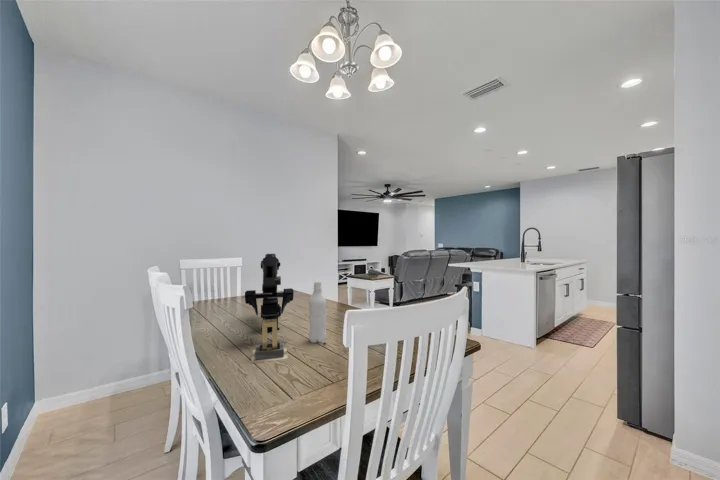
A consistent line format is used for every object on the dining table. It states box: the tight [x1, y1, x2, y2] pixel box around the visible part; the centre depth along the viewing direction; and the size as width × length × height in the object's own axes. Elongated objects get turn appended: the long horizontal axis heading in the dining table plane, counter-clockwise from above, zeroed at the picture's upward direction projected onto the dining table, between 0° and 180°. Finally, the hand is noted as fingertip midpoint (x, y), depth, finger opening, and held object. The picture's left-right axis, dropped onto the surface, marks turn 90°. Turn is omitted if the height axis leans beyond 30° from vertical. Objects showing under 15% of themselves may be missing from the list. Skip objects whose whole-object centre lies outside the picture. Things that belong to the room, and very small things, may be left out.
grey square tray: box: [250, 341, 289, 364], centre depth 103 cm, size 12×12×4 cm
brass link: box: [261, 319, 278, 351], centre depth 103 cm, size 4×5×12 cm
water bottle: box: [308, 281, 328, 344], centre depth 117 cm, size 7×7×25 cm
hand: (269, 314), depth 110 cm, fingers open, 9 cm apart
